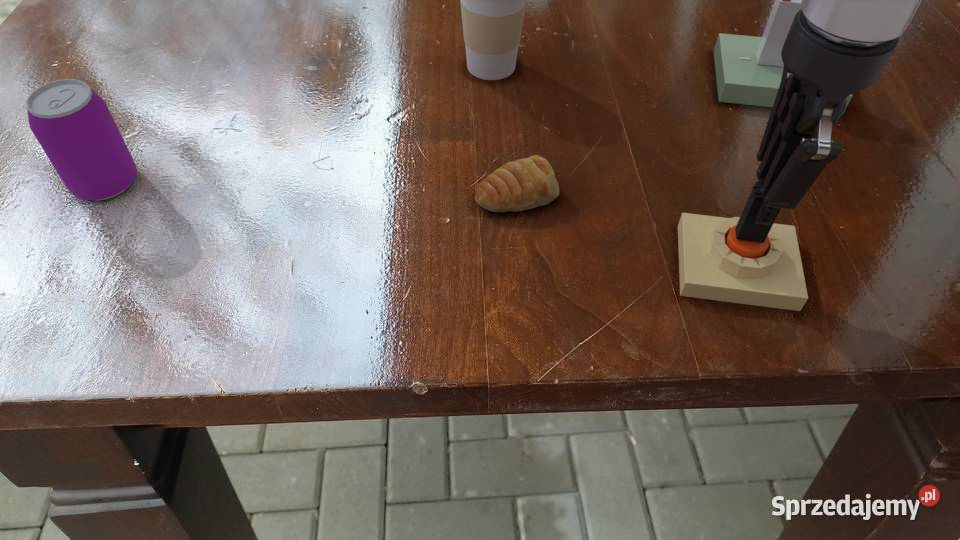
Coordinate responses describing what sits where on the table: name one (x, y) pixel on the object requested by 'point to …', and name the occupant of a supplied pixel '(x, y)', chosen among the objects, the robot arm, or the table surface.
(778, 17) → the switch lever
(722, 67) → the panel
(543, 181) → the pastry
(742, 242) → the button
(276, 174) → the table surface
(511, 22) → the coffee cup
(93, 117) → the beverage can
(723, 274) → the button box
